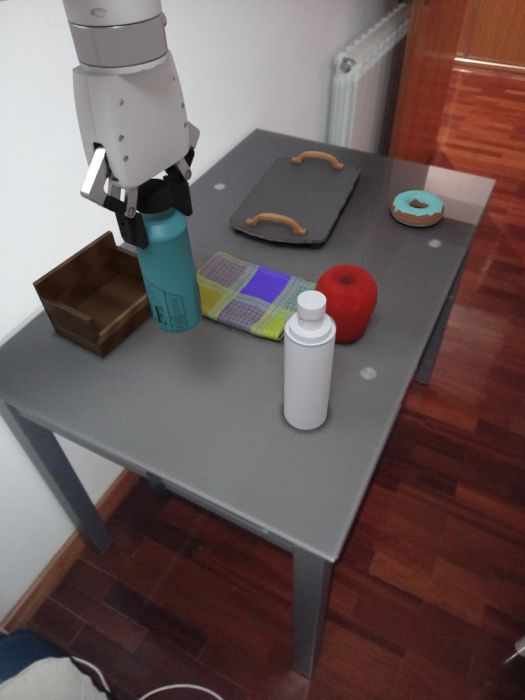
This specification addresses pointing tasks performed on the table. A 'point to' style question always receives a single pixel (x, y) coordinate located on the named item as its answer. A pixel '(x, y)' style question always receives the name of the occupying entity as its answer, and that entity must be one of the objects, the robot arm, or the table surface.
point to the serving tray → (297, 199)
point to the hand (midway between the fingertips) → (159, 226)
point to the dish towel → (248, 295)
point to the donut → (417, 208)
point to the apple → (348, 299)
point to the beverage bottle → (167, 260)
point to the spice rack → (95, 295)
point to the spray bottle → (308, 361)
